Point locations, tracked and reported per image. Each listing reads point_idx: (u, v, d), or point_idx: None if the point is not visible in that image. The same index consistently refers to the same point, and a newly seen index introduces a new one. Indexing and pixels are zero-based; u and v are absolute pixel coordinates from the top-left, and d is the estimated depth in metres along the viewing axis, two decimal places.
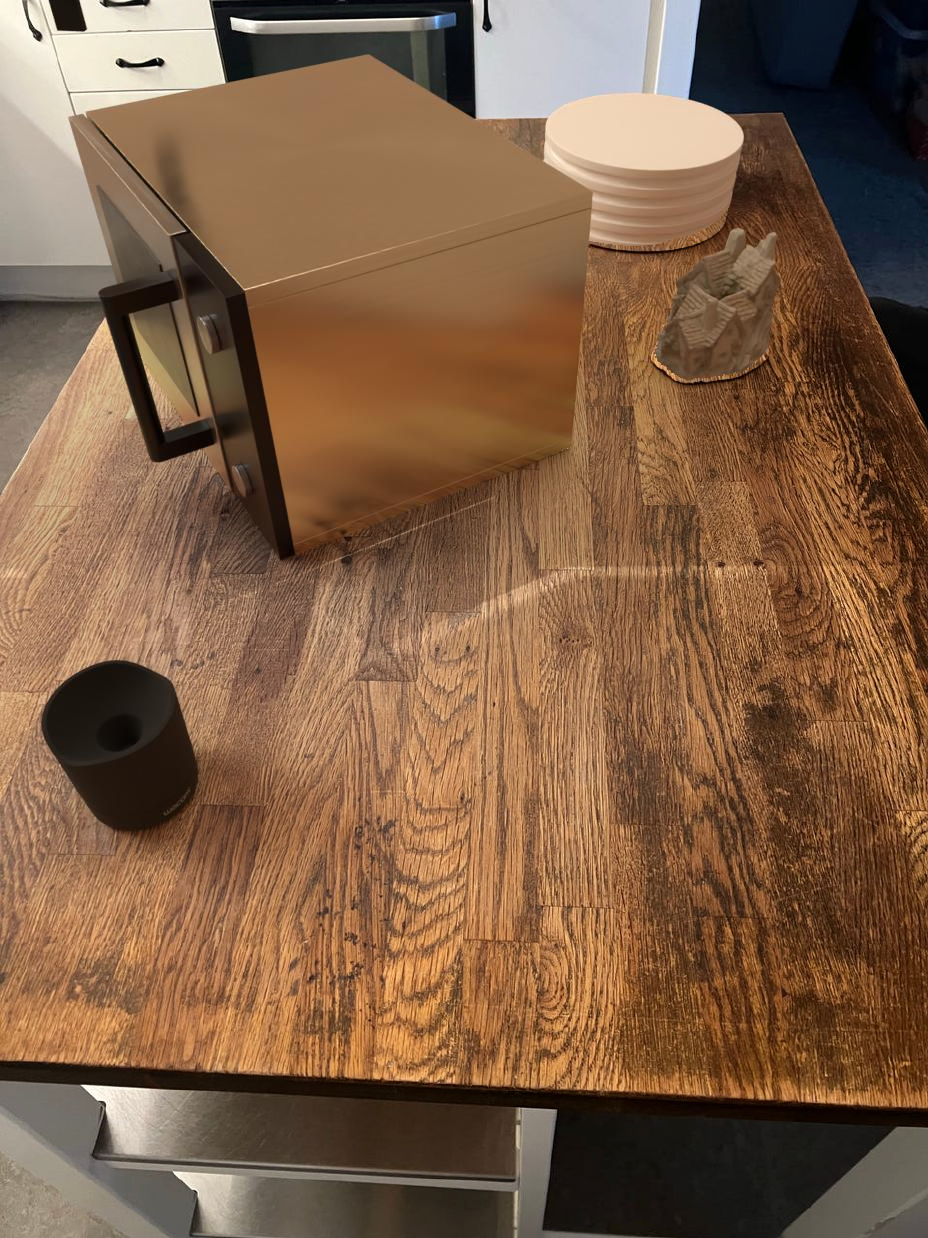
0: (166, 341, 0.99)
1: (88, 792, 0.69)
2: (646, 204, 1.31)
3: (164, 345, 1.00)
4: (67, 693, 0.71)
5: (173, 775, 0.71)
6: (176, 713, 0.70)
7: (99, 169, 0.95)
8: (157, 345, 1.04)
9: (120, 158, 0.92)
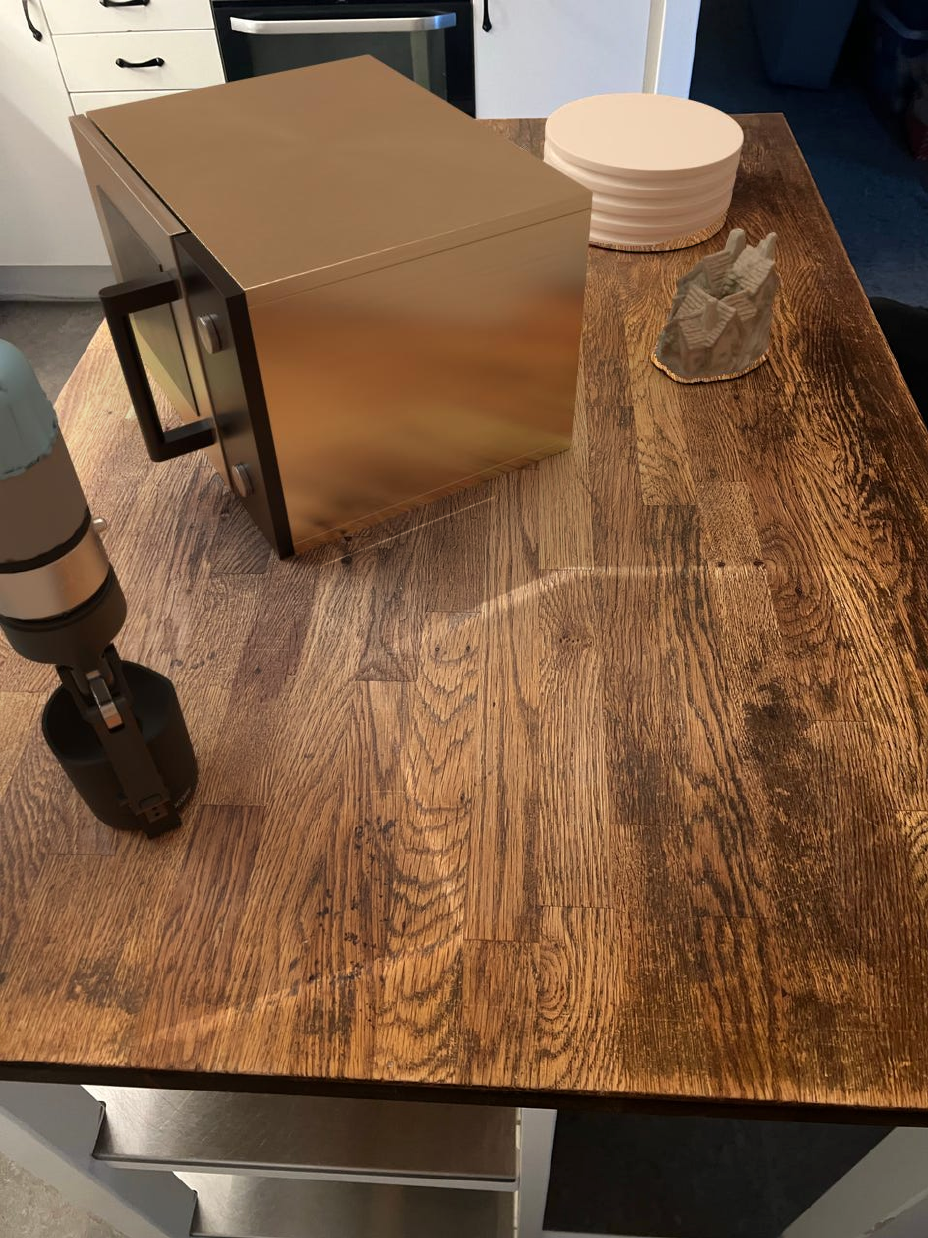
0: (166, 341, 0.99)
1: (88, 792, 0.69)
2: (646, 204, 1.31)
3: (164, 345, 1.00)
4: (67, 693, 0.71)
5: (173, 775, 0.71)
6: (176, 712, 0.70)
7: (99, 169, 0.95)
8: (157, 345, 1.04)
9: (120, 158, 0.92)
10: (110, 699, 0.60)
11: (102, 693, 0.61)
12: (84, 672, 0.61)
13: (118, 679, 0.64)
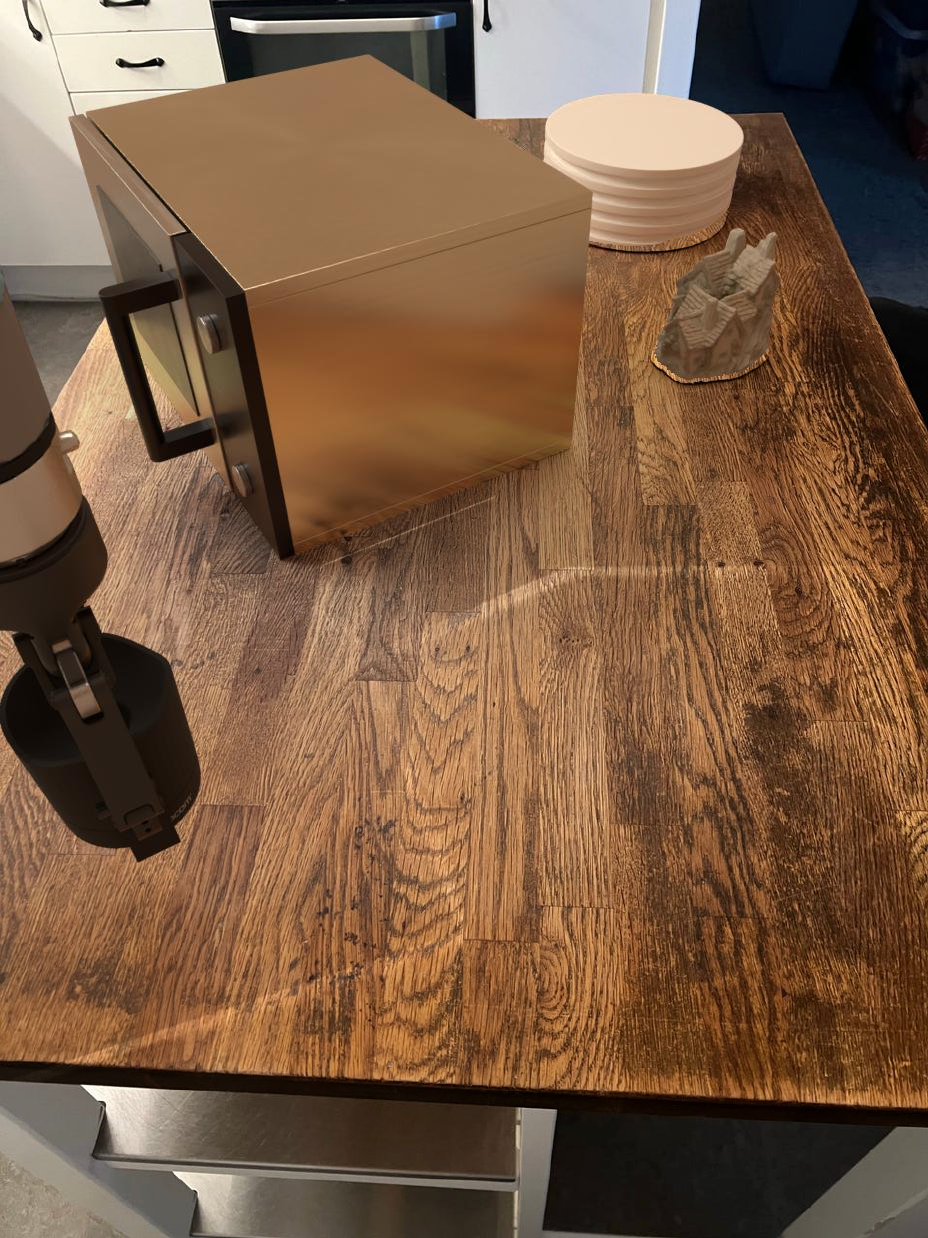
0: (166, 341, 0.99)
1: (60, 801, 0.54)
2: (646, 204, 1.32)
3: (164, 345, 1.00)
4: (34, 674, 0.55)
5: (169, 779, 0.56)
6: (173, 699, 0.54)
7: (99, 169, 0.95)
8: (157, 345, 1.04)
9: (120, 158, 0.92)
10: (84, 678, 0.45)
11: (74, 670, 0.45)
12: (50, 643, 0.45)
13: (96, 654, 0.49)
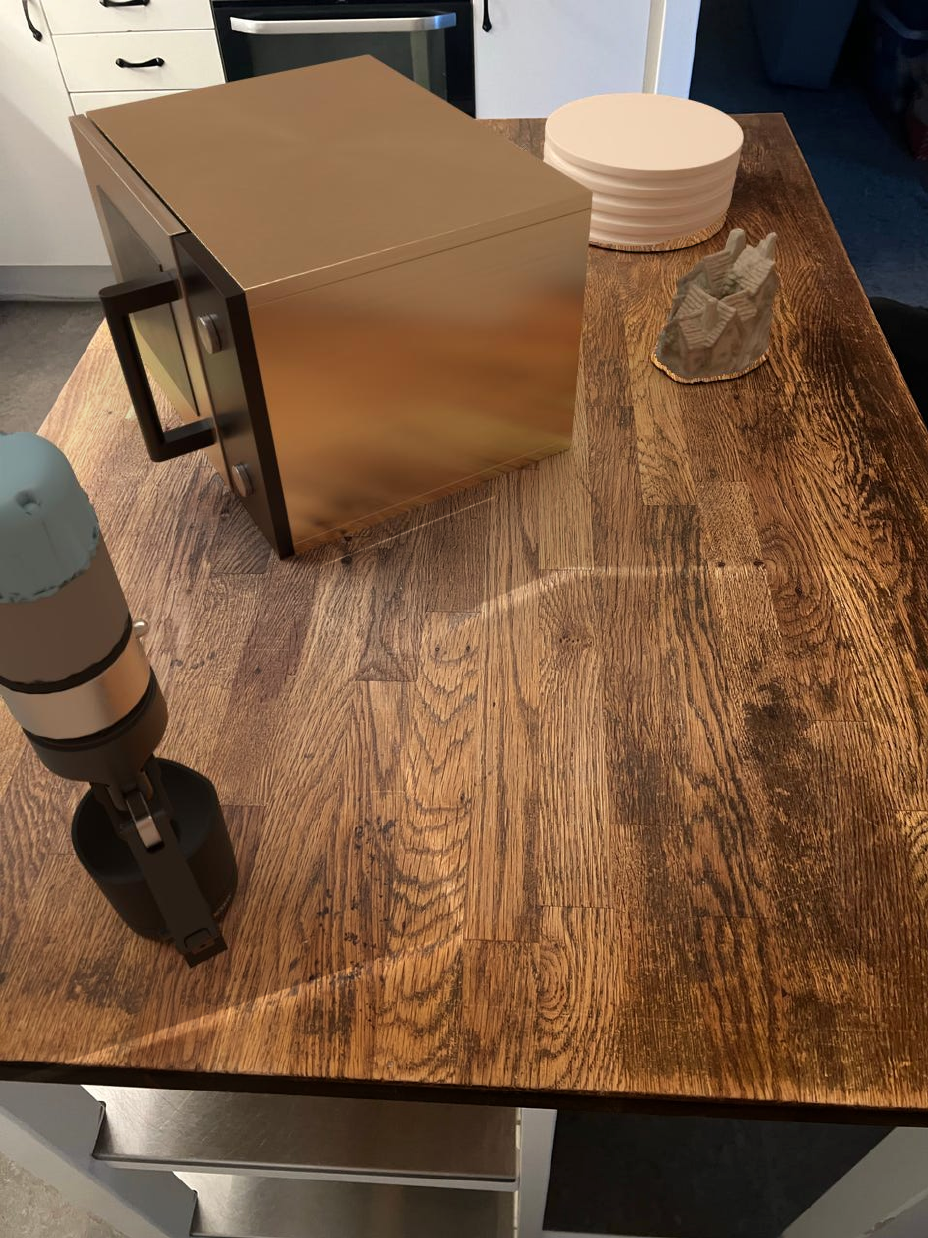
0: (166, 341, 0.99)
1: (122, 907, 0.63)
2: (646, 204, 1.32)
3: (164, 345, 1.00)
4: None
5: (213, 885, 0.65)
6: (218, 820, 0.63)
7: (99, 169, 0.95)
8: (157, 345, 1.04)
9: (120, 158, 0.92)
10: (147, 812, 0.54)
11: (139, 806, 0.54)
12: (122, 789, 0.55)
13: (157, 790, 0.57)
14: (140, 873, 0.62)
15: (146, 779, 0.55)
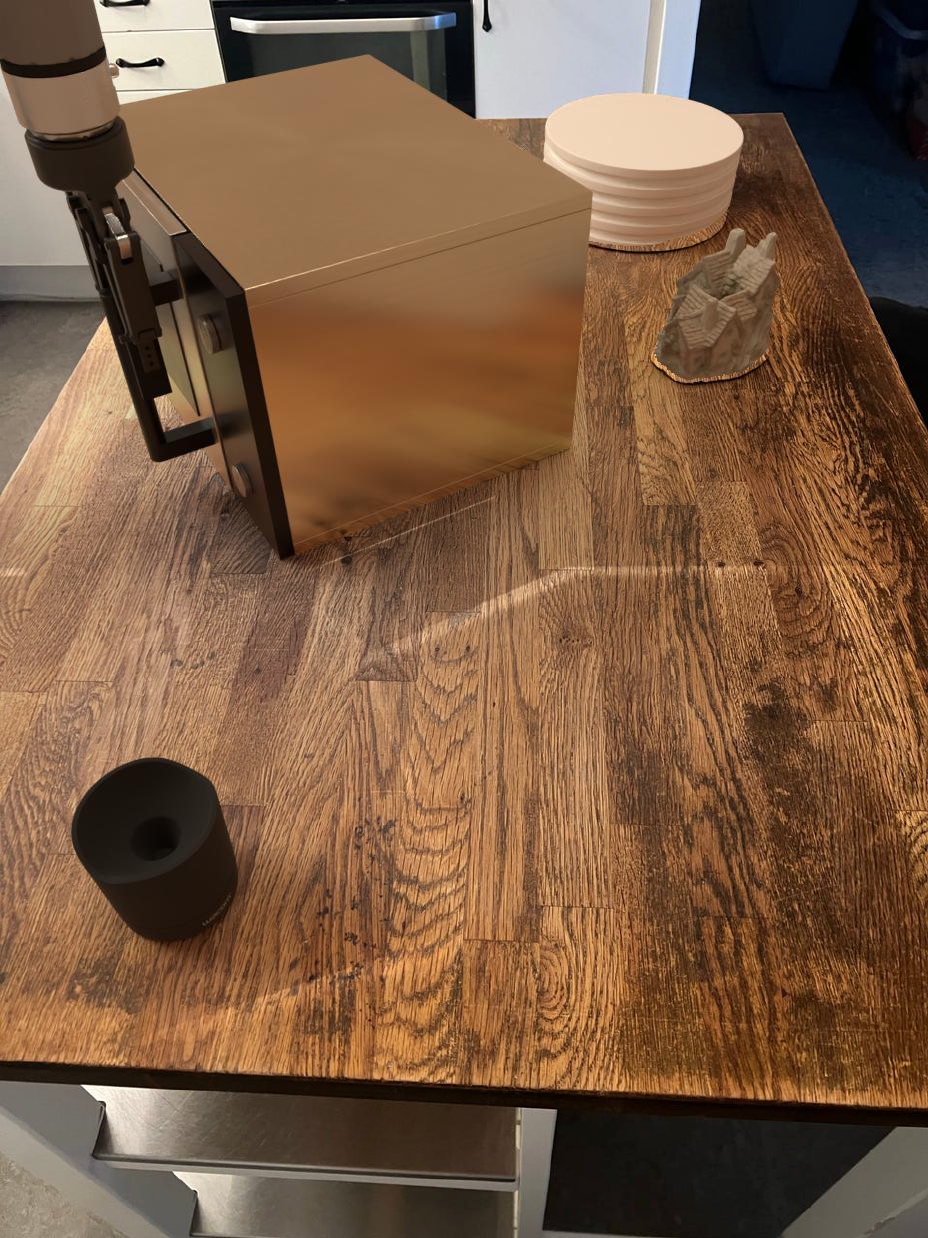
0: (166, 341, 0.99)
1: (122, 907, 0.63)
2: (646, 204, 1.32)
3: (164, 345, 1.01)
4: (98, 796, 0.65)
5: (213, 885, 0.65)
6: (218, 820, 0.63)
7: None
8: None
9: None
10: (124, 232, 0.75)
11: (117, 227, 0.75)
12: (100, 203, 0.75)
13: (126, 230, 0.78)
14: (140, 873, 0.62)
15: (118, 202, 0.75)
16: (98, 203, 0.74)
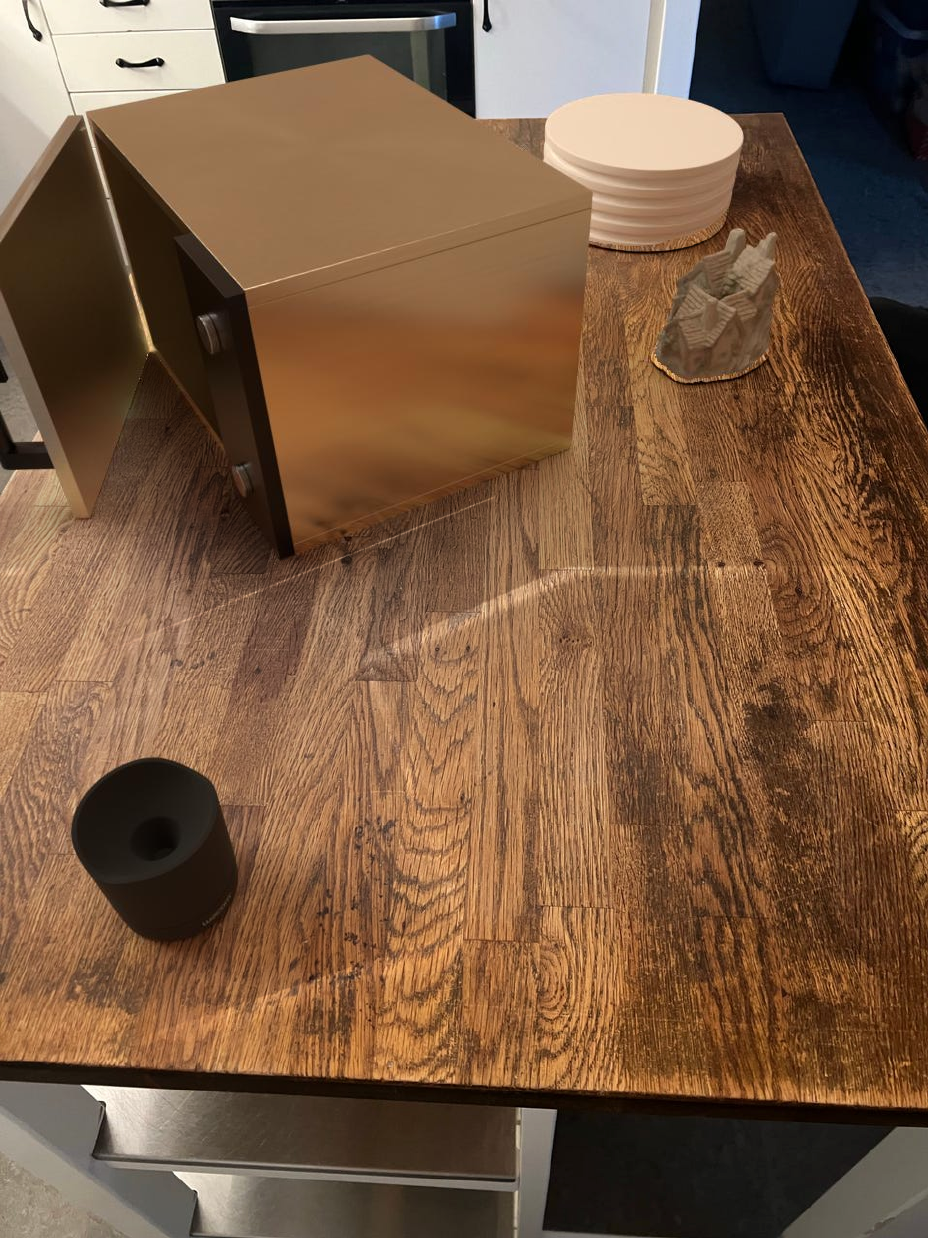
0: None
1: (122, 907, 0.63)
2: (646, 204, 1.32)
3: None
4: (98, 796, 0.65)
5: (213, 885, 0.65)
6: (218, 820, 0.63)
7: None
8: None
9: (45, 168, 0.90)
10: None
11: None
12: None
13: None
14: (140, 873, 0.62)
15: None
16: None
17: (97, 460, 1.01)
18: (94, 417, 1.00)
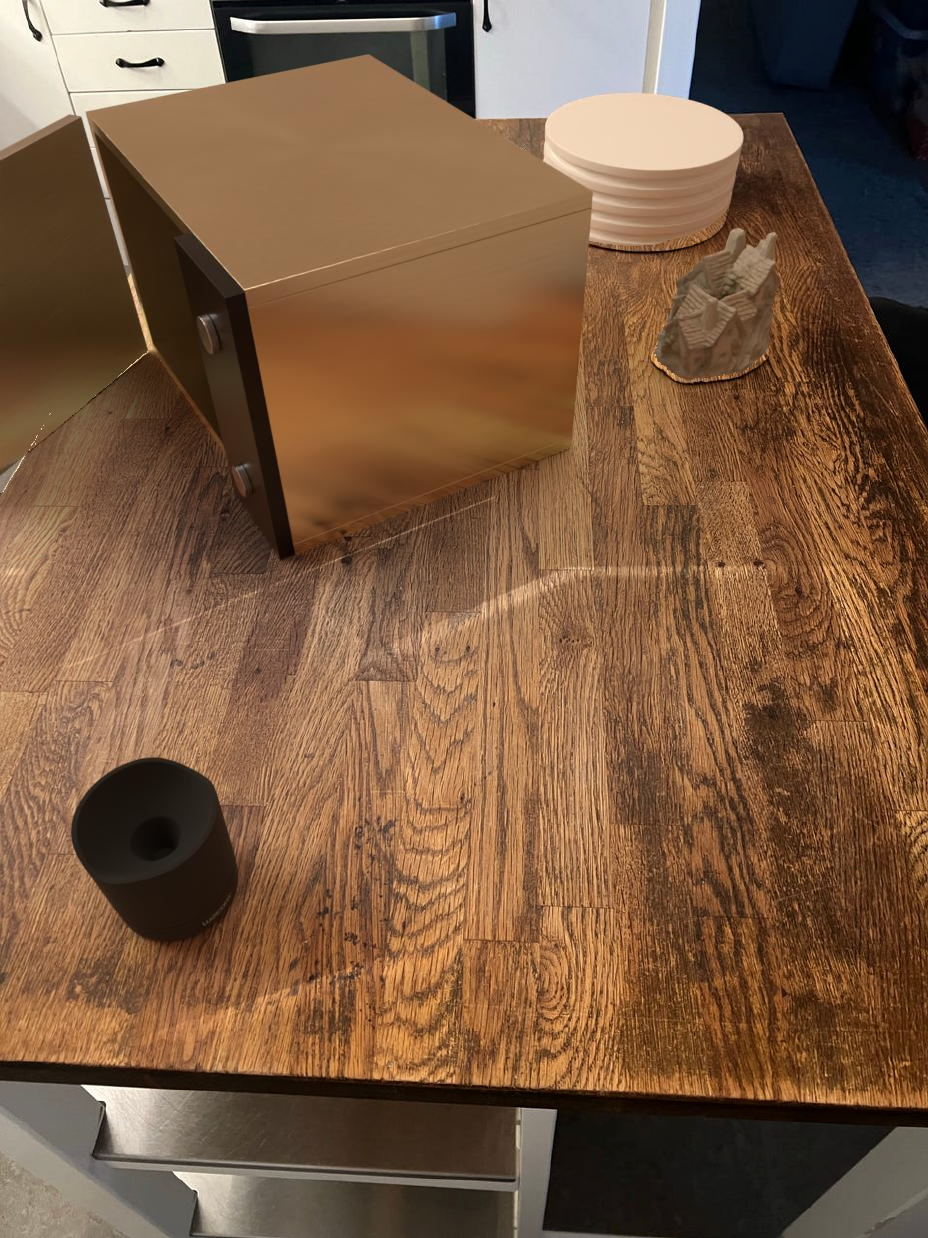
0: None
1: (122, 907, 0.63)
2: (646, 204, 1.32)
3: None
4: (98, 796, 0.65)
5: (213, 885, 0.65)
6: (218, 820, 0.63)
7: None
8: None
9: None
10: None
11: None
12: None
13: None
14: (140, 873, 0.62)
15: None
16: None
17: None
18: (7, 410, 1.01)
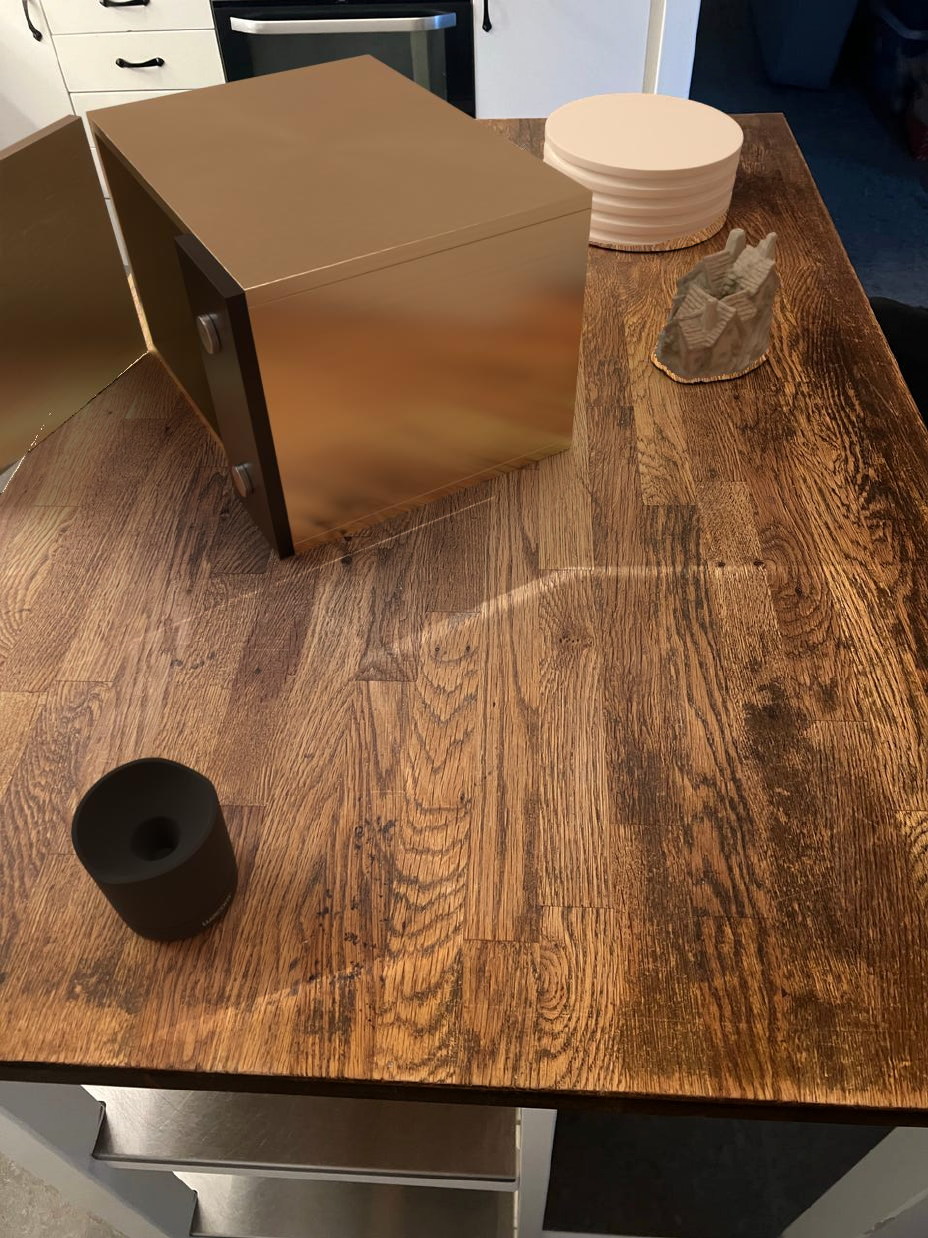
0: None
1: (122, 907, 0.63)
2: (646, 204, 1.32)
3: None
4: (98, 796, 0.65)
5: (213, 885, 0.65)
6: (218, 820, 0.63)
7: None
8: None
9: None
10: None
11: None
12: None
13: None
14: (140, 873, 0.62)
15: None
16: None
17: None
18: (7, 410, 1.01)
